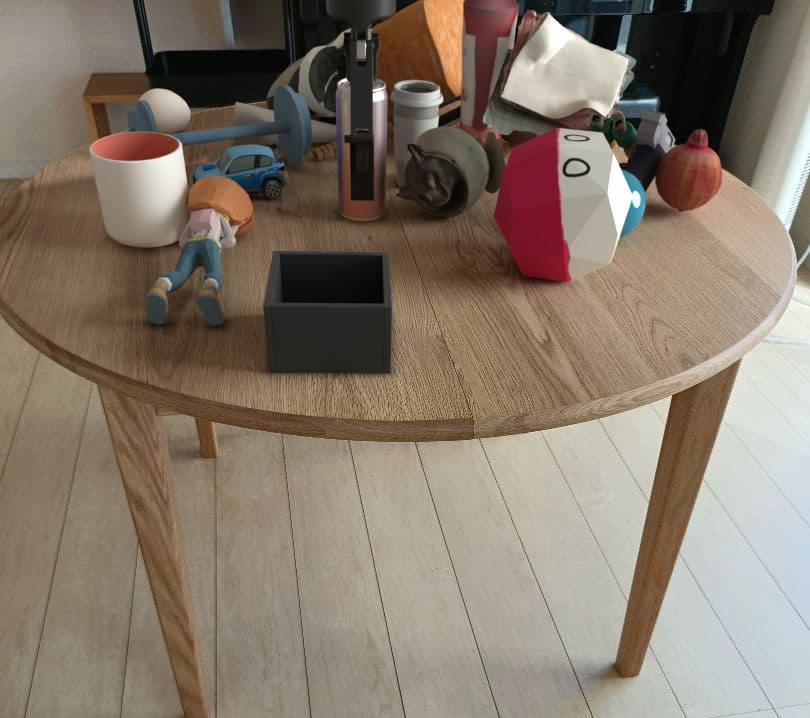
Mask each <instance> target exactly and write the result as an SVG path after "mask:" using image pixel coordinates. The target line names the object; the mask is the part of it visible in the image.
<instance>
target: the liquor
mask: <svg viewBox="0 0 810 718" xmlns="http://www.w3.org/2000/svg"><path fill="white" fill-rule="evenodd" d="M519 8H520V4H519V3H518V1H517V0H465V1H464V2H463V31H462V85H461V100H460V106H461V113H460V122H459V129H461V130H463V131H465V132H466V133H467V134H469V135H471V136H472V137H473V138H474V139H475V140H476V141H477V142H478V143H479V144H480V145H484V144H485V142H486V138H487V134H488V132H494V133H495V135H496V139H497V138H498V137H499V139H500V142H501V144H502V147H503V148H504V143H503V141H502V140H503V139H502V138H501V134H500V133H498V132H496V131H494V130H493V129H492V125H491V124H484V123H483V116H484V113H485V111H486V109H487V105H488V102H489V99H490V97H491V95H492V94H493V90H494V87H495V85H496V82H497V80H498V77H499V74H500V71H501V68H502V65H503V63H504V60H505V58H506V55H507V53H508V50H507V49H513V46H514V44H515V37H516V29H517V22H518V15H519V10H520V9H519Z"/></svg>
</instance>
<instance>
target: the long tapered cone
mask: <svg viewBox="0 0 810 718" xmlns="http://www.w3.org/2000/svg"><path fill="white" fill-rule="evenodd" d="M274 121H275V120H274V111H273V110H268V108H264V107H260V106H257V105H251V104H247V103H243V102H239V101H235V103H234V109H233V122H232V123H233V126H241V125H249V124H258V123H266V122H274ZM233 126H232V127H233ZM311 126H312V142H311V144H328V143H329V144H331V142H336V141H337V127H336V124H331V123H328V122H323V121H320V120H311ZM276 142H279V140H278V136H277V134H272V135H265V136H257V137H249V138H241V139H233V146H239V145H262V146H271V145H272V144H273V143H276Z"/></svg>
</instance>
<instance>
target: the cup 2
mask: <svg viewBox="0 0 810 718" xmlns="http://www.w3.org/2000/svg"><path fill="white" fill-rule="evenodd" d="M390 98H391V100H392V101H393V102H394V111H393V116H394V121H393V122H394V137H393V141H394V143H393V144H394V158H395V166H396V167H395V168H396V169H395V171H396V185H398V187H400V188H402V189H403V188H404V186H405V182H404V164H405V159H406V155H407V152H408V148H407V145H408V144H411V143H413V142H414V141H415V140H416V138H418V137H419V136H420V135H421V134H422V133H424V132H425V131H427V130H429V129H432V128H436V127H438V120H439V116H440V112H439V110H440V109H439V104H441V103H442V102H443V96H442V94H441V93H440V86H439V85H437V84H435V83H432V82H429V81H422V80H407V81H401V82H398V83H396V84H395V85H394V90H393V91H392V93H391V96H390Z"/></svg>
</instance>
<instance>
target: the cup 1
mask: <svg viewBox="0 0 810 718" xmlns="http://www.w3.org/2000/svg"><path fill="white" fill-rule="evenodd" d="M183 149H184V148H183V146H182V144H181V142H180V141H179V140H178V139H176V138H175V137H173V136H170V135H167V134H162V133H156V132H129V131H128V132H119V133H115V134H110V135H108V136H104V137H101V138H99V139H97V140H96V141H94V142H93V143H92V144H91V145H90V146H89V149H88V152H89V157H90V161H91V167H92V170H93V175H94V176H93V177H94V181H95V185H96V190H97V195H98V199H99V204H100V208H101V213H102V219H103V223H104V227H105V231H106V232H107V234H108V235H109V237H111V238H112V239H113V240H114V241H115V242H117V243H120V244H121V245H124V246H128V247H132V248H141V249H143V248H144V249H145V248H146V249H147V248H158V247H159V248H160V247H164V246H169V245H171V244H174V243H176V242H179V239H180V236H181V234H182V233H183V231H184V229H185V227H186V225H187V224H188V222H189V220H190V218H191V213H190V211H188V209H187V208H186V207H185V205H188V204H189V202H188V194H189V186H188V185H189V184H188V179H187V172H186V163H185V156H184V151H183ZM184 204H185V205H184Z"/></svg>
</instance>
